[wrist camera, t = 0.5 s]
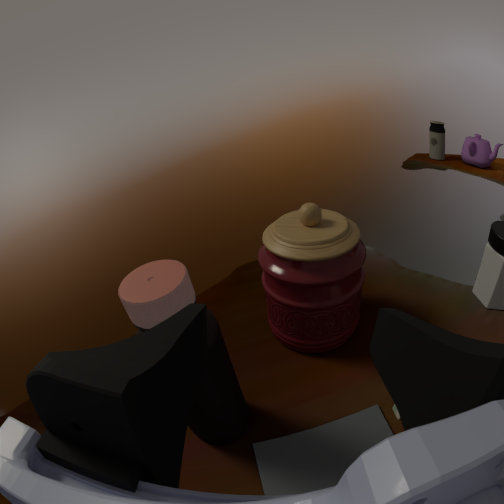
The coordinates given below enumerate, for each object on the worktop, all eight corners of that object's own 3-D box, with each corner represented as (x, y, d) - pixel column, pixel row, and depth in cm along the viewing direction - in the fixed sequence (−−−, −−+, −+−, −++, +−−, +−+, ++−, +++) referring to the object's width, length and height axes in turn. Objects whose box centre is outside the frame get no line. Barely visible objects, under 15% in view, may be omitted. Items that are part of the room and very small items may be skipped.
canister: (369, 303, 40) (378, 191, 31) (338, 368, 31) (348, 241, 22) (295, 284, 47) (285, 182, 38) (251, 336, 38) (226, 220, 30)
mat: (438, 531, 10) (439, 531, 10) (292, 589, 9) (291, 590, 9) (376, 405, 26) (377, 404, 25) (253, 444, 24) (252, 443, 24)
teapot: (453, 163, 100) (454, 131, 93) (468, 158, 107) (469, 130, 99) (494, 176, 82) (497, 143, 74) (504, 170, 88) (506, 141, 81)
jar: (504, 319, 29) (531, 253, 23) (467, 299, 35) (486, 233, 29) (514, 291, 33) (534, 231, 27) (480, 274, 39) (496, 215, 33)
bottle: (241, 451, 24) (171, 321, 14) (183, 437, 26) (87, 306, 16) (256, 400, 29) (216, 251, 19) (203, 391, 31) (139, 251, 21)
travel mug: (436, 156, 111) (436, 121, 102) (447, 160, 104) (448, 123, 95) (426, 156, 110) (426, 120, 101) (437, 161, 104) (437, 123, 94)
